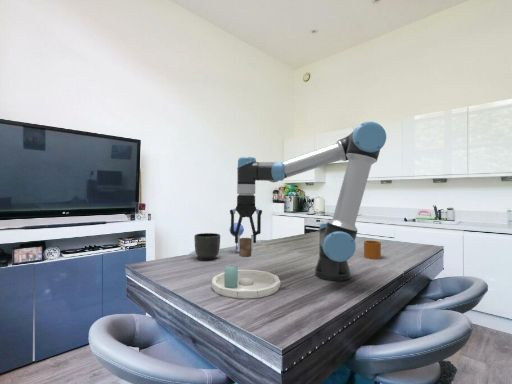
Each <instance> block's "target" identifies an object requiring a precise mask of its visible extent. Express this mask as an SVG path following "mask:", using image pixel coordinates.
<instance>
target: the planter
mask: <svg viewBox="0 0 512 384" xmlns="http://www.w3.org/2000/svg"><path fill="white" fill-rule="evenodd" d="M220 249H221V234H220V233H213V232H205V233H201V232H200V233H197V234H195V235H194V251H195V254H196V256H197V257H198V258H199V259H200V260H202V261H212V260H214V259H215V258H216V257H217V256H218V255H219V252H220Z"/></svg>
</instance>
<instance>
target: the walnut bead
mask: <svg viewBox="0 0 512 384" xmlns="http://www.w3.org/2000/svg"><path fill="white" fill-rule="evenodd" d="M238 255H239V256H238V257H241V258H249V257H251V256H252V252H251V237H240V252H238Z"/></svg>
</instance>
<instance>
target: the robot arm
mask: <svg viewBox="0 0 512 384" xmlns="http://www.w3.org/2000/svg"><path fill="white" fill-rule="evenodd" d="M386 142H387V133H386V130H385V128H384V127H383V126H382V125H381V124H380V123H378V122H375V121H364V122H362V123H360V124H359V125H356V126H355V128H354V130H353V131H352V132H351V133H350V134H349V135H347V136H345V137H343V138H341V139H338V140H337V141H336V142H335V143H333V144H330V145H328V146H324V147H322V148H319V149H316V150H315V149H314V150H313V151H309V152H307V153H305V154H301V155H299V156H295V157H293V158H290V159H286V160H283V161H282V162H279V161H275V162H274V161H273V162H272V161H268V162H267V161H266V162H265V161H263V162H257V160H256V159H257V158H256V157H252V156H242V157H239V158H238V159H237V168H236V169H237V172H236V173H237V184H236V185H237V186H236V192H237V193H236V194H237V196H236V207H235V208H232V209H230V210H229V213H230V227H231V233H230V235H231V234H234V235H235V236H234V243H235V244H236V243H237V247H238V252H237V253H239V252H240V238H241V236H240V235H238V233H239V229H240V225H242V221H243V218H248V219H249V222H250V226H251V232H252V234H251V235H250V238H251V253H252V252H253V253H254V244H256V243H257V235H260V234H261V231H262V230H261V227H262V226H261V225H262V224H261V223H262V221H261V219H262V213H263V210H262V209H259V208H257V207H256V181H262V182H263V181H264V182H265V181H266V182H267V181H269V182H270V183H277V182H281V181H284V180H285V179H288V178H290V177H293V176H296V175H299V174H302V173H305V172H306V173H307V172H309V171H311V170H314V169H317V168H320V167H323V166H327V165H329V164H332V163H336V162H339V161H343V162H347V161H348V162H347V165H346V169H345V173H344V176H343V180H342V183H341V186H340V191H339V194H338V198H337V202H336V205H335V209H334V212H333V216H332V218H331V219H329V220H327V222H326V223H321V224H320V225H319V229H318V232H319V241H318V243H319V244H318V246H319V248H318V249H319V250H318V251H319V253H318V256H319V257H318V259H317V263H316V265H315V268H314V275H315V276H316V277H317V278H318V279H319V278H320V279H322V280H326V281H337V282H338V281H347V280H350V279H351V275H352V274H351V273H352V272H351V270H350V266H349V264H348V260H350V259H351V258H352V257H353V256H354V254H355V252H356V248H357V246H356V238H357V236H358V235H357V234H358V232H359V230H358V228H357V227H356V222H357V218H358V214H359V211H360V207H361V204H362V201H363V196H364V193H365V189H366V186H367V182H368V178H369V175H370V171H371V170H372V169H371V168H372V165H374V164H375V163H377V162H378V158H379V155H380V152H381V149H382V148H384V146H385V144H386ZM236 212H237V214H238V216H239V217H238V222H237V223H238V224H237V228H236V231H234V223H235V214H236ZM255 213H256V216H257V217H256V218H257V219H256V223H257V225H256V226H255V224H254V223H255V222H254V218H253V215H254V214H255ZM255 227H256V228H257V229H256V228H255Z"/></svg>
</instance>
